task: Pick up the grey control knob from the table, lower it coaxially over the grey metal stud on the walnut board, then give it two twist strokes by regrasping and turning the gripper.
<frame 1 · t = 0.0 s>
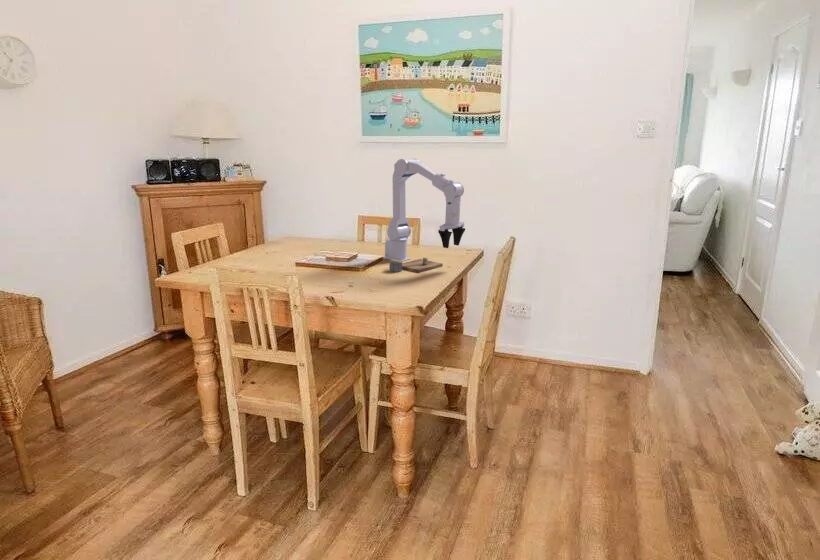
hand: (451, 246, 230), 10 cm above the table, fingers open, 7 cm apart
stud board: (419, 267, 236), on the table
grey control knob: (395, 270, 229), on the table
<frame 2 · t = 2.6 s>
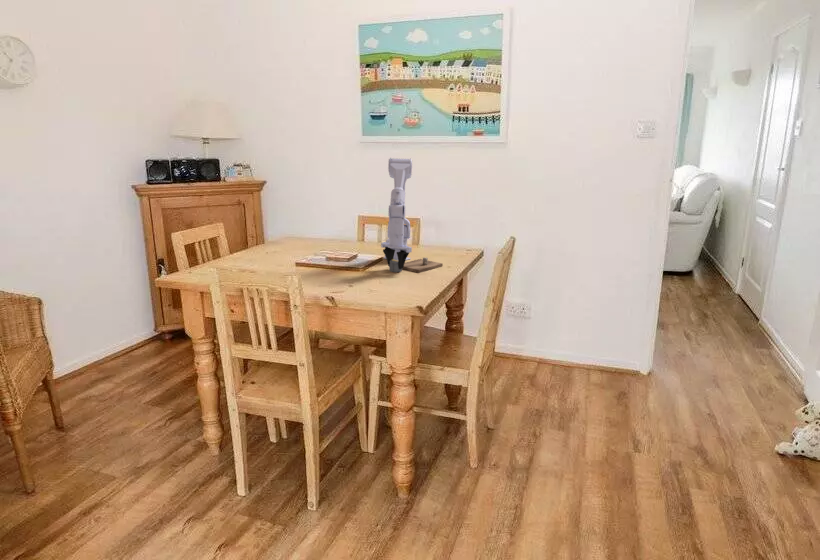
hand: (395, 267, 228), 1 cm above the table, fingers closed on grey control knob, 5 cm apart
grey control knob: (395, 270, 229), on the table, touching gripper
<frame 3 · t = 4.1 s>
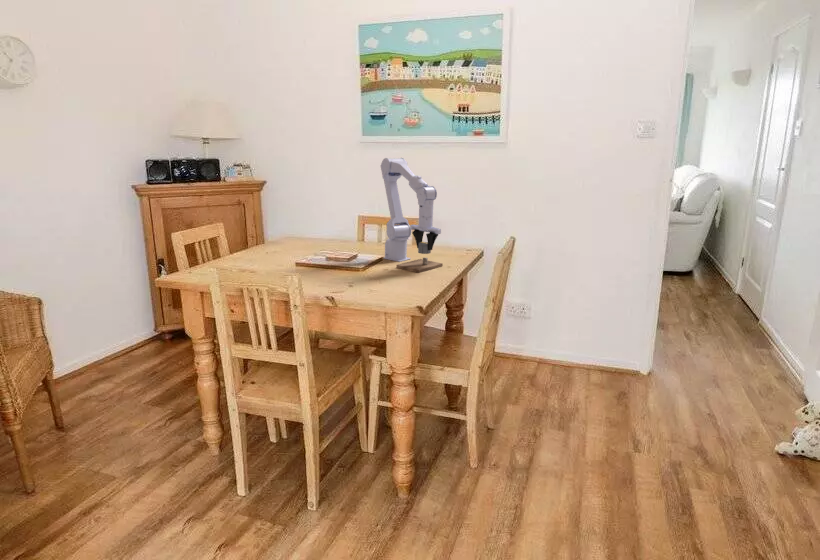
hand: (424, 249, 233), 8 cm above the table, fingers closed on grey control knob, 5 cm apart
grey control knob: (424, 252, 234), point 6 cm above the table, touching gripper
when the fingers open (3 cm above the table, at t = 5.7 s): grey control knob stays where it is, resting on stud board.
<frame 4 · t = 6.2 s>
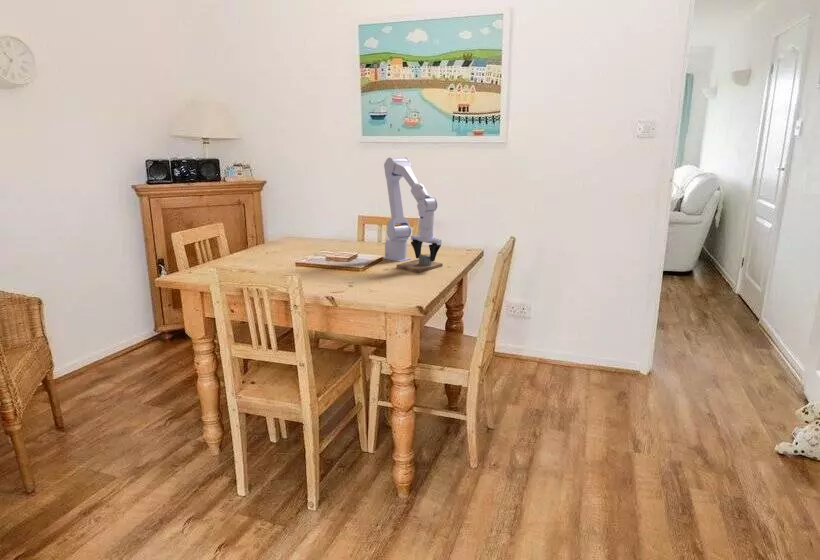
hand: (425, 259, 235), 3 cm above the table, fingers open, 7 cm apart
grey control knob: (424, 264, 235), point 1 cm above the table, touching stud board
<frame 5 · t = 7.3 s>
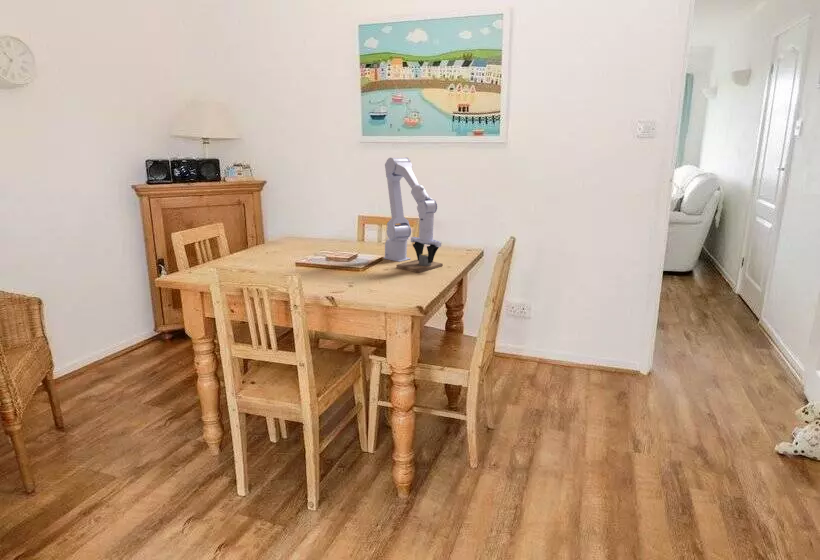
hand: (425, 261, 235), 3 cm above the table, fingers closed on grey control knob, 5 cm apart
grey control knob: (424, 264, 235), point 1 cm above the table, touching gripper, stud board
when the fingers open (3 cm above the table, at t = 8.6 s): grey control knob stays where it is, resting on stud board.
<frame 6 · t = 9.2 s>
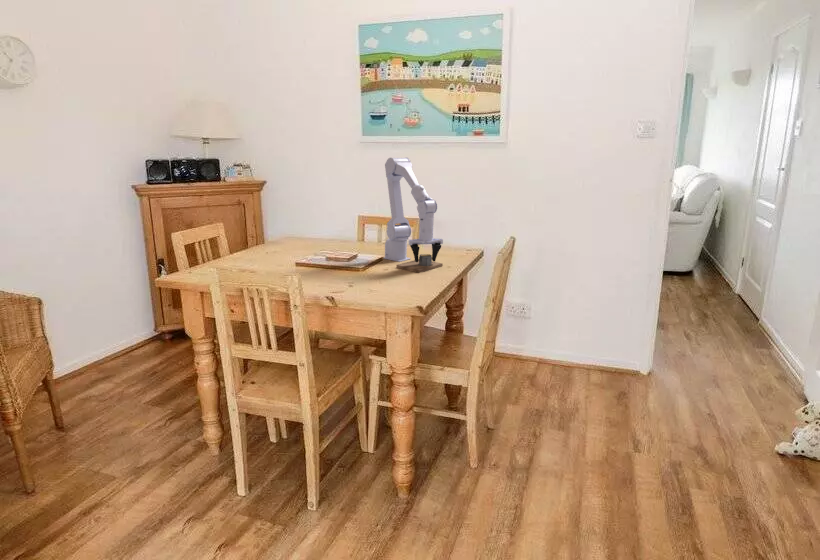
hand: (425, 261, 235), 3 cm above the table, fingers open, 7 cm apart
grey control knob: (425, 264, 235), point 1 cm above the table, touching stud board
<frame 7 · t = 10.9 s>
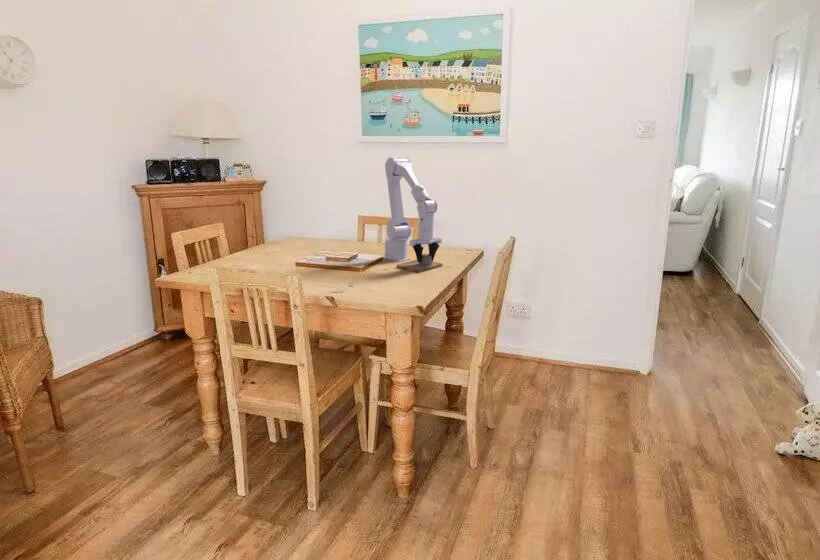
hand: (425, 261, 235), 3 cm above the table, fingers closed on grey control knob, 5 cm apart
grey control knob: (425, 264, 235), point 1 cm above the table, touching gripper
when the fingers open (3 cm above the table, at t = 11.4 s): grey control knob stays where it is, resting on stud board.
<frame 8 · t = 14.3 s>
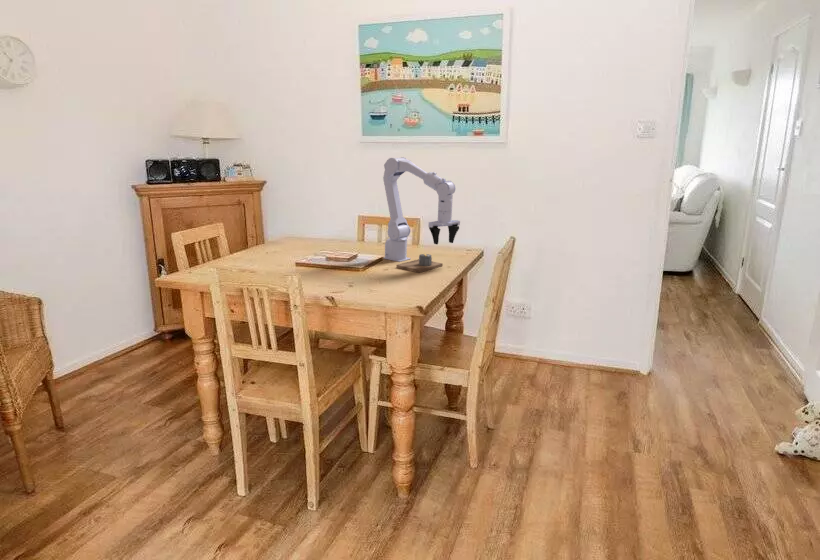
hand: (443, 243, 236), 10 cm above the table, fingers open, 7 cm apart
grey control knob: (425, 264, 235), point 1 cm above the table, touching stud board
at the end: grey control knob 0.0 cm from the target spot on the stud board, point 1.2 cm above the stud board's base; grey control knob tilted 0°; the gripper is holding nothing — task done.
